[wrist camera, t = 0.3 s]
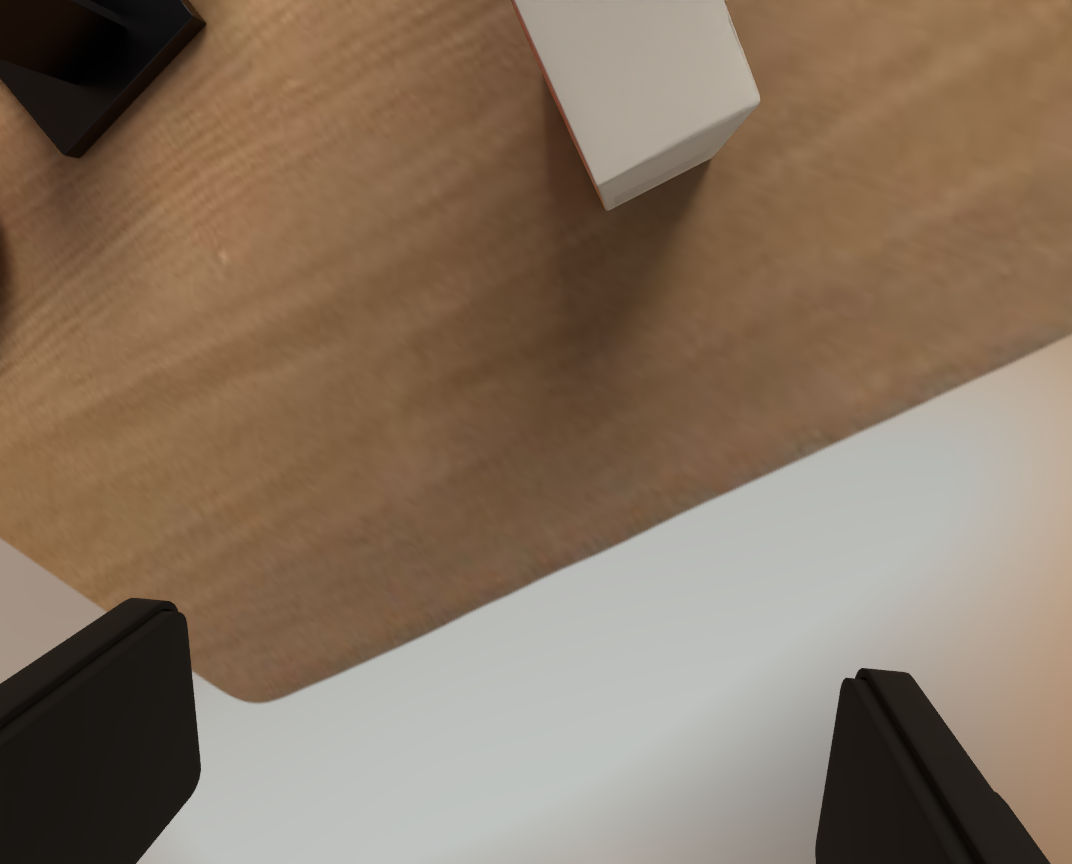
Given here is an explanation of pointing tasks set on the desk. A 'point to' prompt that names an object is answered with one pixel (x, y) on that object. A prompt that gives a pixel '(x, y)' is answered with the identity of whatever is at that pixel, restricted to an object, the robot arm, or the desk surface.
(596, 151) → the small box
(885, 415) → the desk surface
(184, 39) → the stand
